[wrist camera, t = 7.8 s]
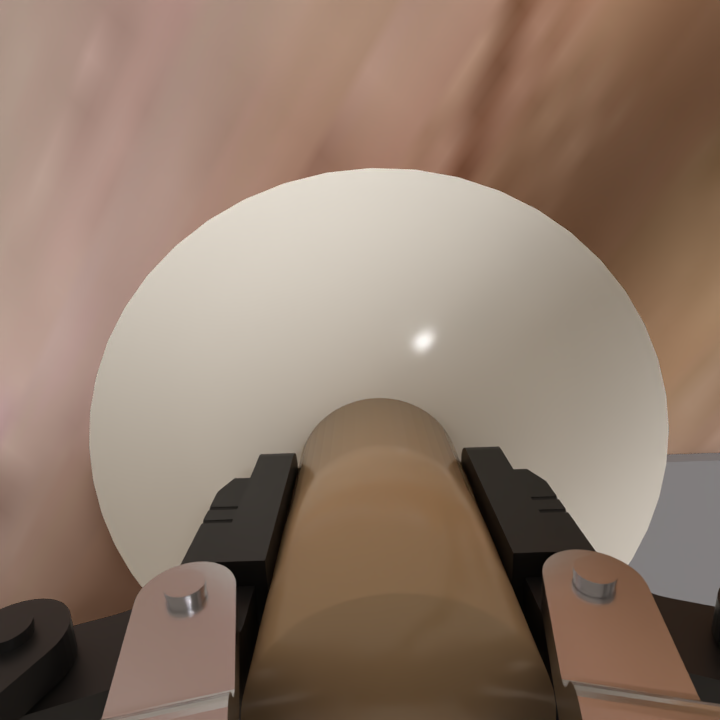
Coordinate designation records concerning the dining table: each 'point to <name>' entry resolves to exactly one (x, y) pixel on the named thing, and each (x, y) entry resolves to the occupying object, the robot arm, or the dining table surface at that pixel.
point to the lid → (380, 428)
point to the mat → (684, 532)
